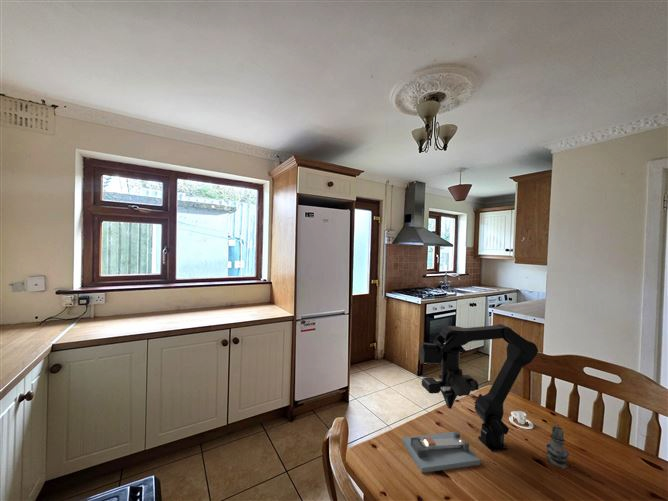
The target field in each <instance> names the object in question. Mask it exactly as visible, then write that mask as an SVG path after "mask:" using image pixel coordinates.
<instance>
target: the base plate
mask: <svg viewBox="0 0 668 501" xmlns="http://www.w3.org/2000/svg"><path fill="white" fill-rule="evenodd" d="M424 437H431V438H432V439H447V438H457V437H460V438H461V433H460V432H459V431H450V432H442V433H431V434H422V435H414V436H413V435H412V436H405V437H402V443H403V445H404V446H405V448H406V450H407V451H408V453H409V455H410V456H411V458H412V460H413V461H414V463H415V464H416V467H417V468H418V469H419V472H420V473H422V474H423V473H424V474H425V473H431V472H439V471H445V470H453V469H460V468H468V467H473V466H481V459H480V458H479V457H478V456H477V455H476V454H475V452H474V451H473V450H472V449H471V448H470V442H468V441H464V442H463V448H443V449H427V448H423V447H422V445H421V444H420V442H419V441H420V440H424Z"/></svg>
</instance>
